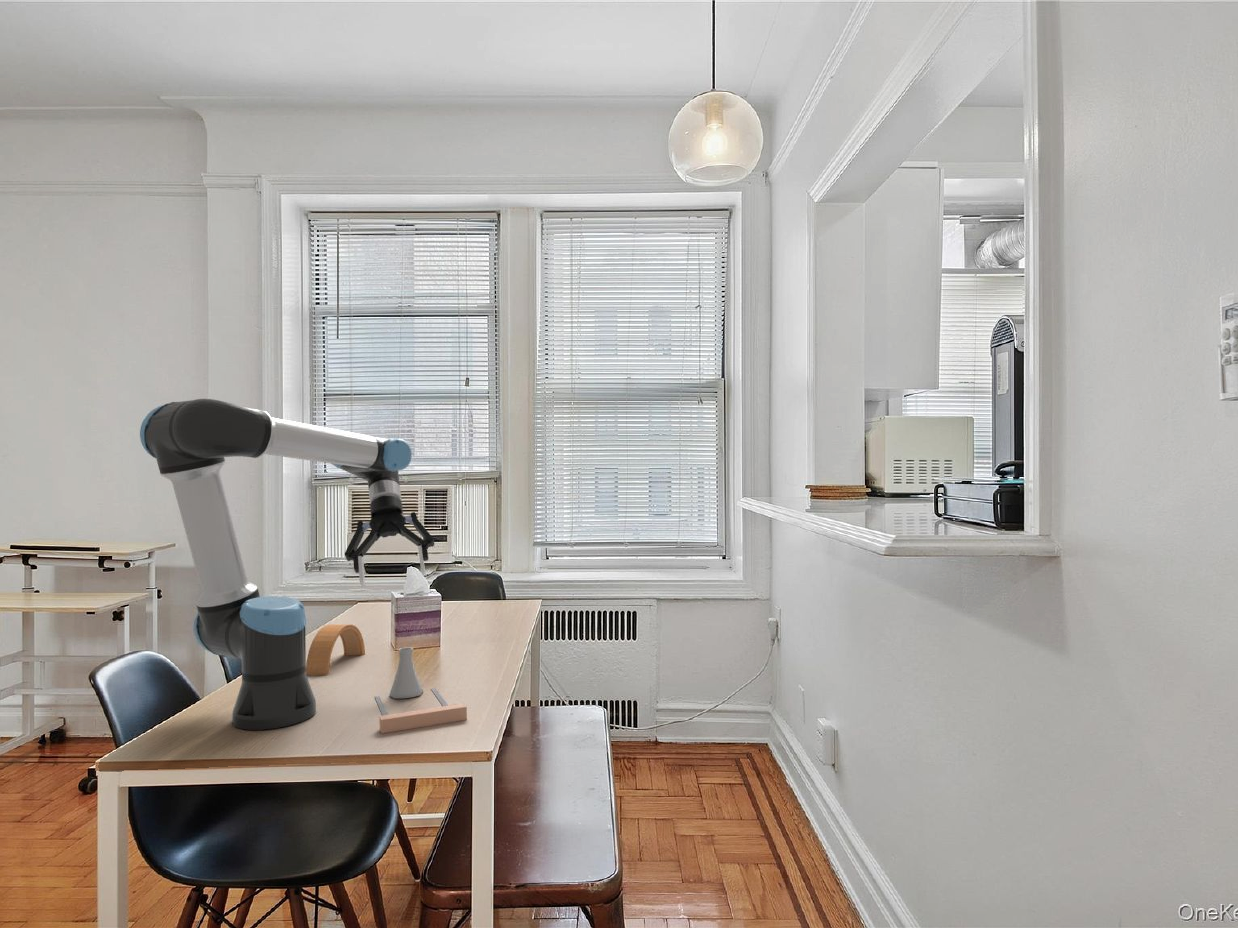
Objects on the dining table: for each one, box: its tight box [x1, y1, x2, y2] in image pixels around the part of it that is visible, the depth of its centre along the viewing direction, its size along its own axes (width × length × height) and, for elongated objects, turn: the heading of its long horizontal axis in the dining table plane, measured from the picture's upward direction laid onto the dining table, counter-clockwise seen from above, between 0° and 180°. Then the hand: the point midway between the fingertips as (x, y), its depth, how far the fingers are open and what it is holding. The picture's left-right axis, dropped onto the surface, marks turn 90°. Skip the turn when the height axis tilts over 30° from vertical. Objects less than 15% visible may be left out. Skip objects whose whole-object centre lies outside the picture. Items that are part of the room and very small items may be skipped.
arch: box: [306, 624, 366, 676], centre depth 187 cm, size 6×20×10 cm, turn 173°
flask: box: [388, 646, 424, 699], centre depth 160 cm, size 7×7×10 cm
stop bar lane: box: [374, 687, 468, 734], centre depth 150 cm, size 16×24×2 cm
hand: (393, 577), depth 168 cm, fingers open, 13 cm apart
